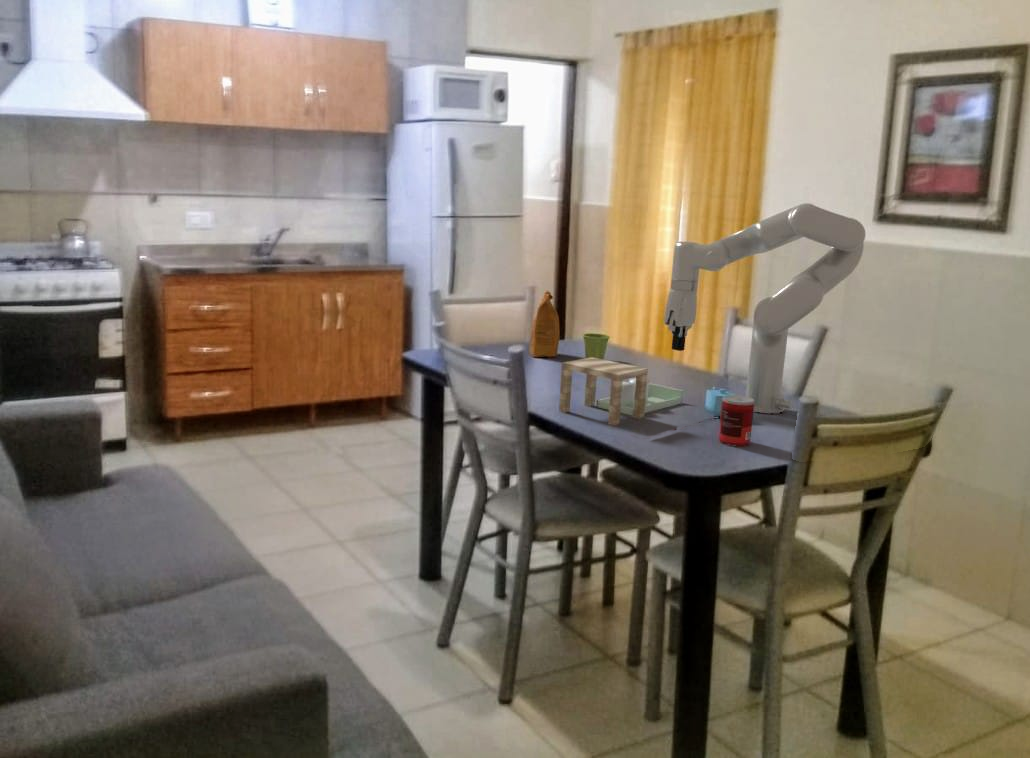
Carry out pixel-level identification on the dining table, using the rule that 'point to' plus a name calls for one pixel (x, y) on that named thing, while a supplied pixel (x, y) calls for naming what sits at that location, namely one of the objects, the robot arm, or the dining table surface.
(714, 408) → the teapot
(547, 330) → the coffee package
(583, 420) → the dining table surface
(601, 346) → the plant pot
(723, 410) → the canned food
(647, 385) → the white piece
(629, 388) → the white rounded cylinder
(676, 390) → the tray
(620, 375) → the miniature wooden table
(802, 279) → the robot arm
